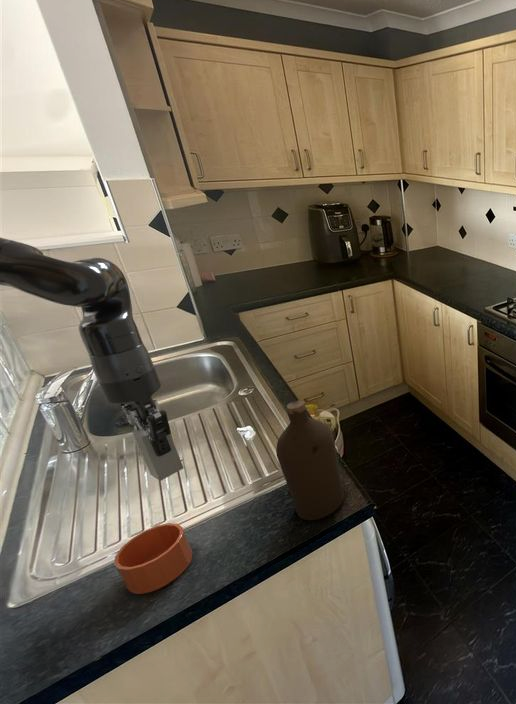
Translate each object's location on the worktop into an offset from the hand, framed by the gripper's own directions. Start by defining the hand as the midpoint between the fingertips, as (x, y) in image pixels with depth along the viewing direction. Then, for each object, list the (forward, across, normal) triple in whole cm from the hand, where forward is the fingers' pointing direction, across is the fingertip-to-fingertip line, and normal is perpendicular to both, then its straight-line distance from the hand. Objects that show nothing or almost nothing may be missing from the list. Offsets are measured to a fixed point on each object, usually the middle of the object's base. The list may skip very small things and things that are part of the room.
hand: (158, 449), depth 78 cm
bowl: (+18, +8, -8) cm, 21 cm away
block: (+5, 0, 0) cm, 5 cm away
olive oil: (+18, +21, +16) cm, 32 cm away
